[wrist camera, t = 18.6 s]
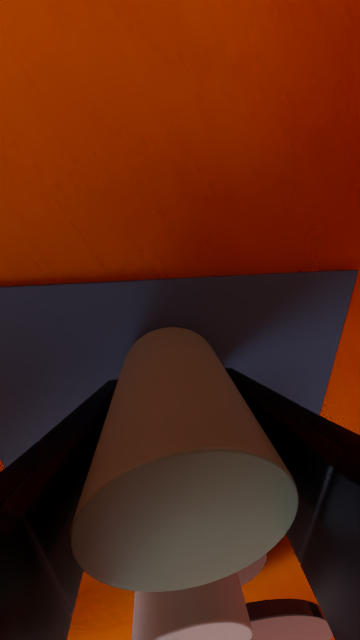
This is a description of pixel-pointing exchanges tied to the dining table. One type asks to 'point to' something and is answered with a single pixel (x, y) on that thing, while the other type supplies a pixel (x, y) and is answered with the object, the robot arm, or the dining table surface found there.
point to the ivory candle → (193, 613)
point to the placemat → (155, 313)
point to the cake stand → (283, 614)
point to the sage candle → (179, 474)
